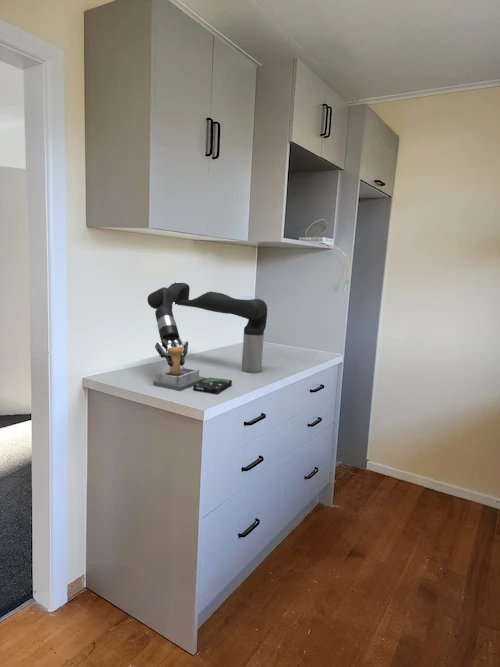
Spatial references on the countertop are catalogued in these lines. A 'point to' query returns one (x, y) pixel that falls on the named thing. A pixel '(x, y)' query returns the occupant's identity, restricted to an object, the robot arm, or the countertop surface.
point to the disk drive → (212, 385)
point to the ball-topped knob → (175, 360)
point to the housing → (179, 379)
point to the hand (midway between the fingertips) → (176, 365)
